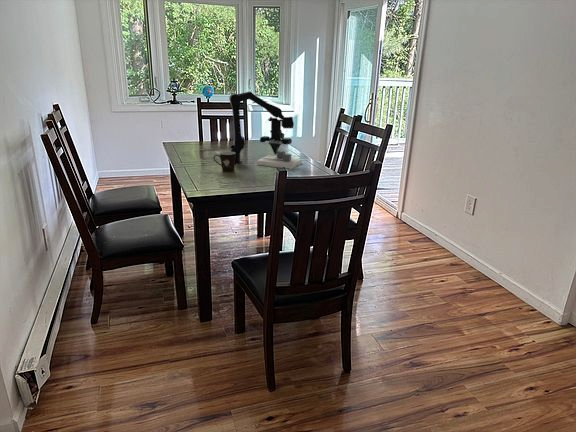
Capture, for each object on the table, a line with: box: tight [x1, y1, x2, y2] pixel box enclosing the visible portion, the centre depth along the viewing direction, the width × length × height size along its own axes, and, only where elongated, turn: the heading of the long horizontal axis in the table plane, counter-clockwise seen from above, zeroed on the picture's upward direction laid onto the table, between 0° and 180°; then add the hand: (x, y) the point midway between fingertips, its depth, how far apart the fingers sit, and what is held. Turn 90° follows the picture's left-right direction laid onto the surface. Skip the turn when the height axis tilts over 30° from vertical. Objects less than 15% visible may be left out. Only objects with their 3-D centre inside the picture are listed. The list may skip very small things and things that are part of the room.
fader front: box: [283, 153, 292, 161], centre depth 253 cm, size 3×4×4 cm
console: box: [256, 155, 303, 170], centre depth 257 cm, size 16×22×3 cm
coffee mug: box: [213, 151, 236, 173], centre depth 237 cm, size 12×9×10 cm
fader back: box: [276, 150, 286, 158], centre depth 260 cm, size 3×4×4 cm
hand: (275, 154), depth 262 cm, fingers closed
